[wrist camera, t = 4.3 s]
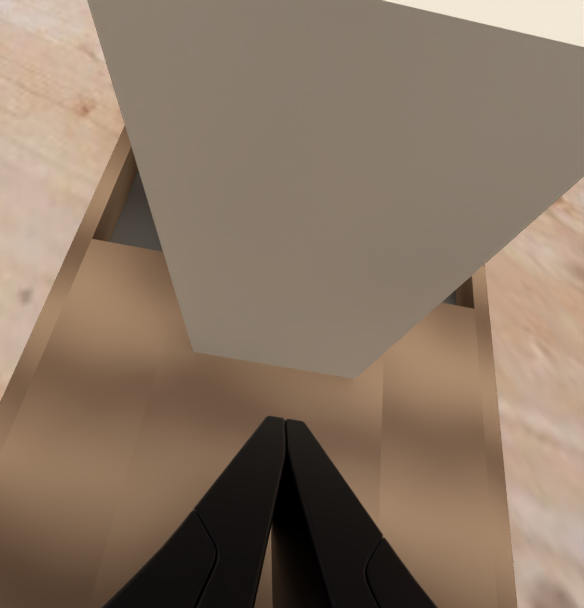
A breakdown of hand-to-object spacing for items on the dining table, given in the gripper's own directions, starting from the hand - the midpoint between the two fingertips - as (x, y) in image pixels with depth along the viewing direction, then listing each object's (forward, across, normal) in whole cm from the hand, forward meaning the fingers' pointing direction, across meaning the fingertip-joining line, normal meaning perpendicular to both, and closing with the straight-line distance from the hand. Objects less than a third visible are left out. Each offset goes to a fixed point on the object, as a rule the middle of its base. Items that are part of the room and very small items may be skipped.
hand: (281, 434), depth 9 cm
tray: (+12, 0, +1) cm, 12 cm away
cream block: (+10, 0, 0) cm, 10 cm away
